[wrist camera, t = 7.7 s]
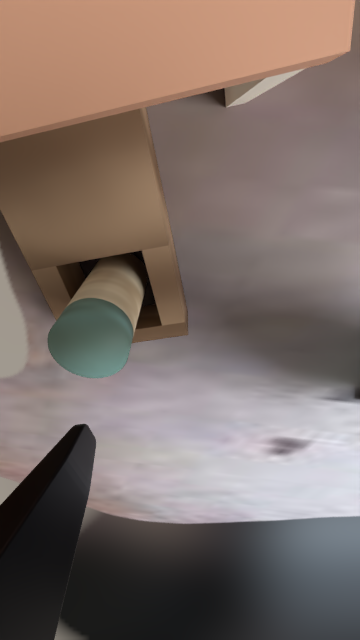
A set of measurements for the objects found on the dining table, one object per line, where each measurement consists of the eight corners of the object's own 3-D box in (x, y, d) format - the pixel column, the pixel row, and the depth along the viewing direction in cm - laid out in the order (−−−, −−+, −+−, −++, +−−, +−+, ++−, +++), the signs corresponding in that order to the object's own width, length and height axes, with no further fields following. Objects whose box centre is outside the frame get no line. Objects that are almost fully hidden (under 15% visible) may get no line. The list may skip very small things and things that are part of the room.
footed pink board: (255, 100, 14) (350, 50, 6) (-47, 171, 16) (-279, 205, 8) (248, -112, 11) (440, -861, 3) (-136, 11, 13) (-697, -213, 5)
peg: (153, 294, 20) (137, 373, 14) (105, 302, 21) (67, 382, 14) (140, 246, 18) (114, 308, 12) (87, 256, 19) (33, 321, 12)
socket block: (187, 311, 21) (188, 334, 18) (85, 327, 22) (72, 351, 19) (121, -13, 12) (104, -53, 10) (-45, 35, 13) (-100, 11, 11)
